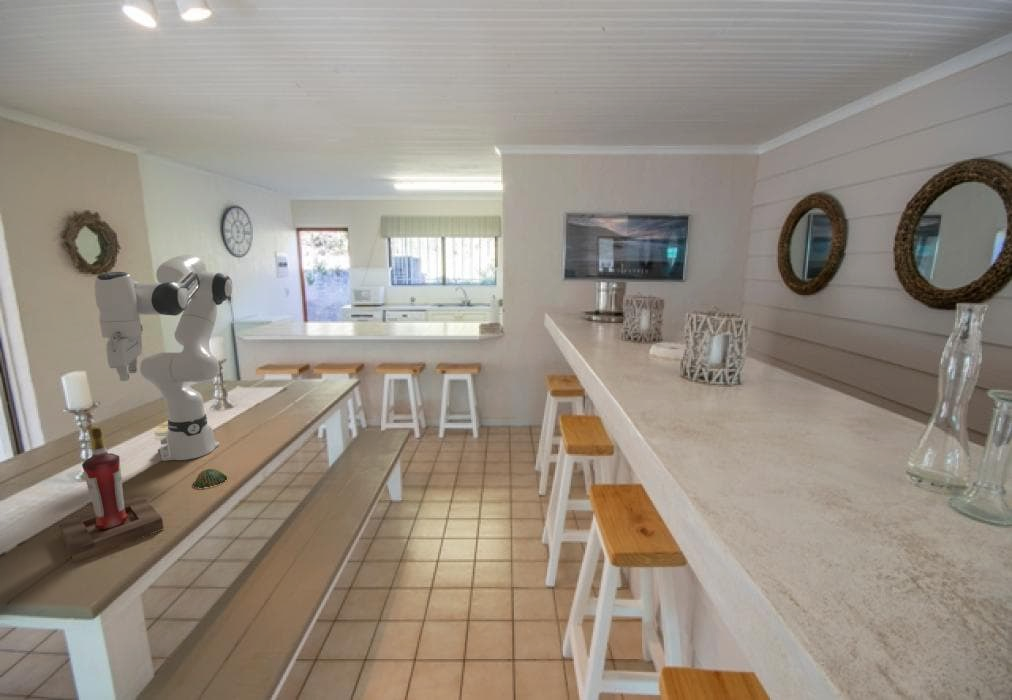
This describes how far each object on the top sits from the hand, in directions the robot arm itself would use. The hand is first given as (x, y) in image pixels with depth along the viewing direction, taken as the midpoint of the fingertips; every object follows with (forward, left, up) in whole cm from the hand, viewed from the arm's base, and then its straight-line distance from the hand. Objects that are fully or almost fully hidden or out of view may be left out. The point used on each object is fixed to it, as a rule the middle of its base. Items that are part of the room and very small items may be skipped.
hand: (129, 376), depth 131 cm
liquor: (+14, -11, -37) cm, 41 cm away
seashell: (+3, +16, -40) cm, 43 cm away
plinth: (+14, -11, -39) cm, 43 cm away
